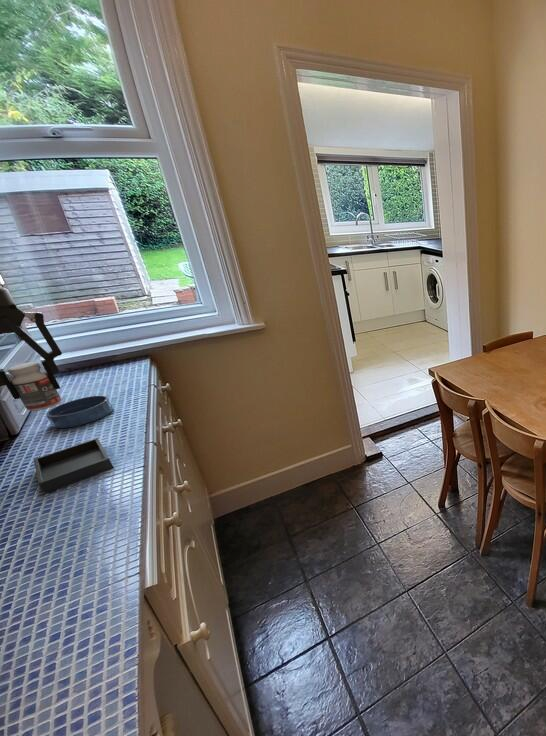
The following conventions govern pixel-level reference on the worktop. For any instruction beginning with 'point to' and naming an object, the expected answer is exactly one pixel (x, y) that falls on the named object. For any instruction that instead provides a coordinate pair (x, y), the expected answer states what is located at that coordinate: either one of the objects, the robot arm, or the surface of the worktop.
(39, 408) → the pill bottle
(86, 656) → the worktop surface
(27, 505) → the worktop surface
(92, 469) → the tray
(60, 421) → the bowl
